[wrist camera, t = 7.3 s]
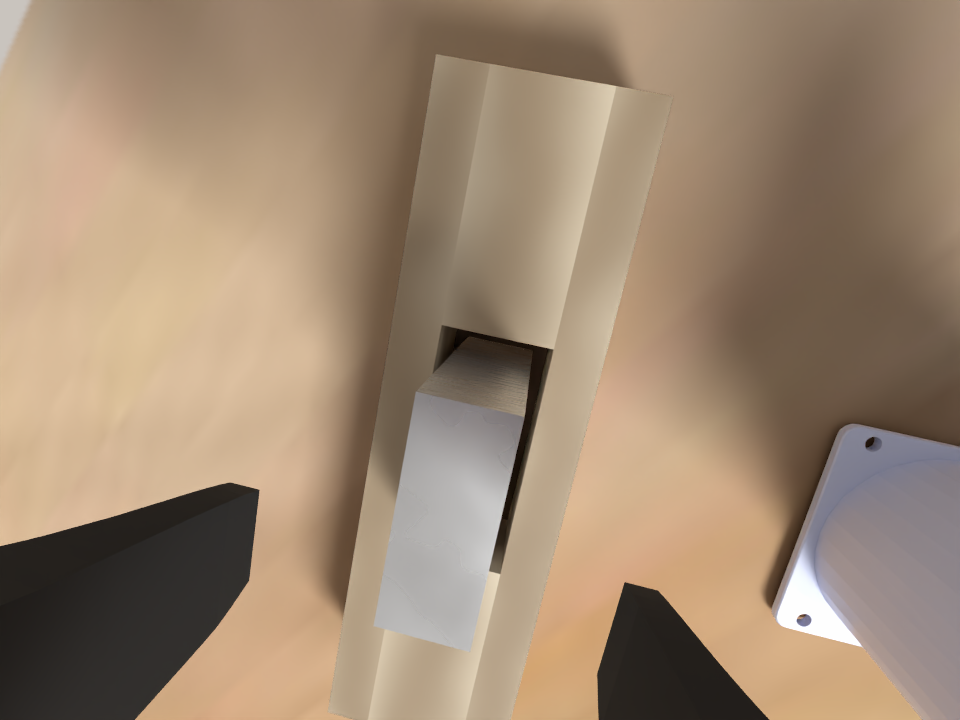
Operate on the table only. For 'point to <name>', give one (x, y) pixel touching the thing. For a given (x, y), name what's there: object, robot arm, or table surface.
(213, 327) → the table surface
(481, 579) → the rectangular metal block
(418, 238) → the post beam
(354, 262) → the table surface
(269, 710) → the table surface
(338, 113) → the table surface
